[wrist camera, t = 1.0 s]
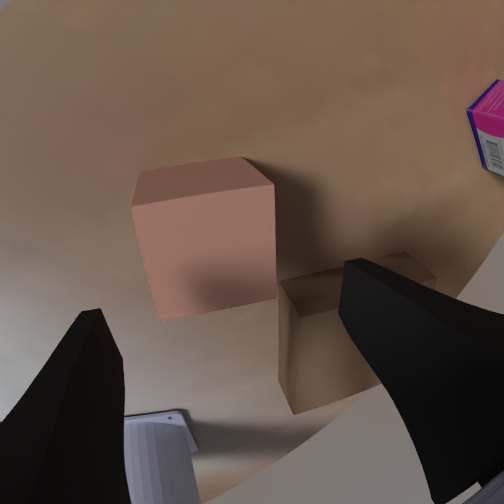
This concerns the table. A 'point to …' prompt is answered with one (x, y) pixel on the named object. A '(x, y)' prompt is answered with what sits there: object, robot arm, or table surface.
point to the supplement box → (489, 126)
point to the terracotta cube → (206, 236)
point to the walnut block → (326, 337)
